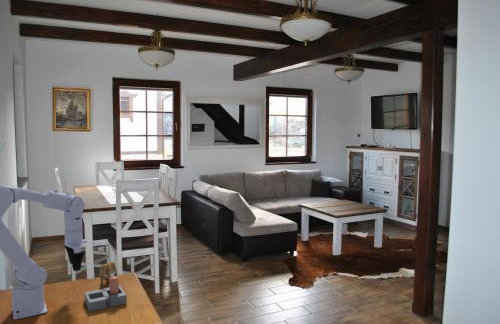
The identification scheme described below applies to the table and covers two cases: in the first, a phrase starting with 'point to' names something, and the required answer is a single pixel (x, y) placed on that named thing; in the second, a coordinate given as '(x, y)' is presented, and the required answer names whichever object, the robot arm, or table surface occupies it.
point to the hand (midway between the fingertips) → (75, 266)
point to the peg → (114, 285)
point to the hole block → (104, 298)
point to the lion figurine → (107, 272)
